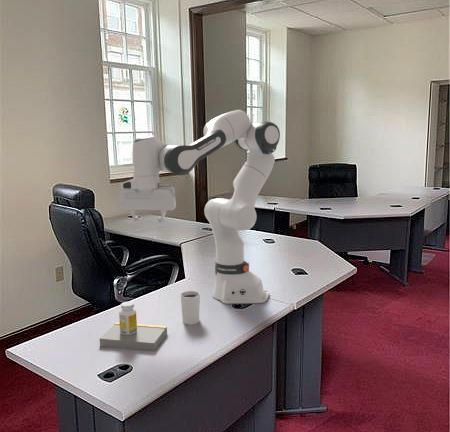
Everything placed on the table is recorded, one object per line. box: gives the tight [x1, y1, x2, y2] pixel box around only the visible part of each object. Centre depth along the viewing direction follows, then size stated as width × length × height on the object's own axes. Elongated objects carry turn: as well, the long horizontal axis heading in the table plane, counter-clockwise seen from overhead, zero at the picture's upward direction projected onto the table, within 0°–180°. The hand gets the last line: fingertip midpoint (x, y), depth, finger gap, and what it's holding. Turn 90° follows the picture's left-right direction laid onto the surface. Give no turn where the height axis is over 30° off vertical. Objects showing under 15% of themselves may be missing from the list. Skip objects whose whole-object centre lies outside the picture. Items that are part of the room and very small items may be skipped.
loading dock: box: [99, 321, 168, 352], centre depth 148 cm, size 18×12×3 cm, turn 78°
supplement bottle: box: [118, 301, 138, 335], centre depth 147 cm, size 5×5×10 cm
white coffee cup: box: [180, 290, 201, 326], centre depth 161 cm, size 7×7×10 cm
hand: (148, 222), depth 163 cm, fingers open, 8 cm apart
